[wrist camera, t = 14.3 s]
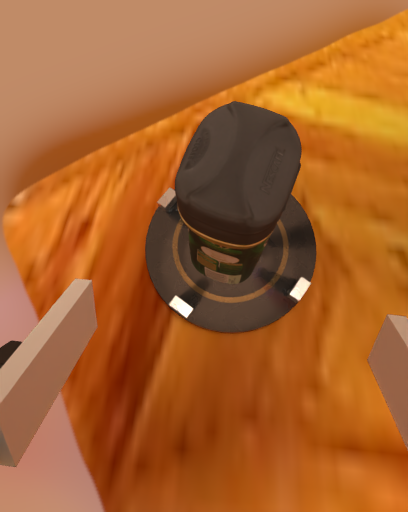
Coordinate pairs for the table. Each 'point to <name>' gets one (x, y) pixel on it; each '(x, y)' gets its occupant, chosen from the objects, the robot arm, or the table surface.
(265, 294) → the lug base plate
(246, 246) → the coffee jar
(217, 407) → the table surface
